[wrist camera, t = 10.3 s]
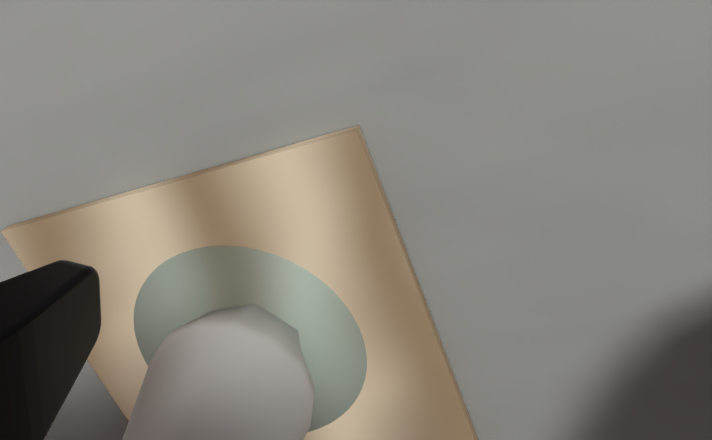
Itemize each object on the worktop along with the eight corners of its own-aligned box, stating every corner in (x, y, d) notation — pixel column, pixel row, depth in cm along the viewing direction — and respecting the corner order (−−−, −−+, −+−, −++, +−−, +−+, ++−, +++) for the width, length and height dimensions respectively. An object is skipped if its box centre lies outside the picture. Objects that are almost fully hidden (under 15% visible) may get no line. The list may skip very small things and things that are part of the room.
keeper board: (358, 125, 20) (356, 130, 20) (482, 451, 26) (482, 459, 26) (8, 225, 25) (0, 231, 24) (179, 485, 30) (176, 492, 30)
